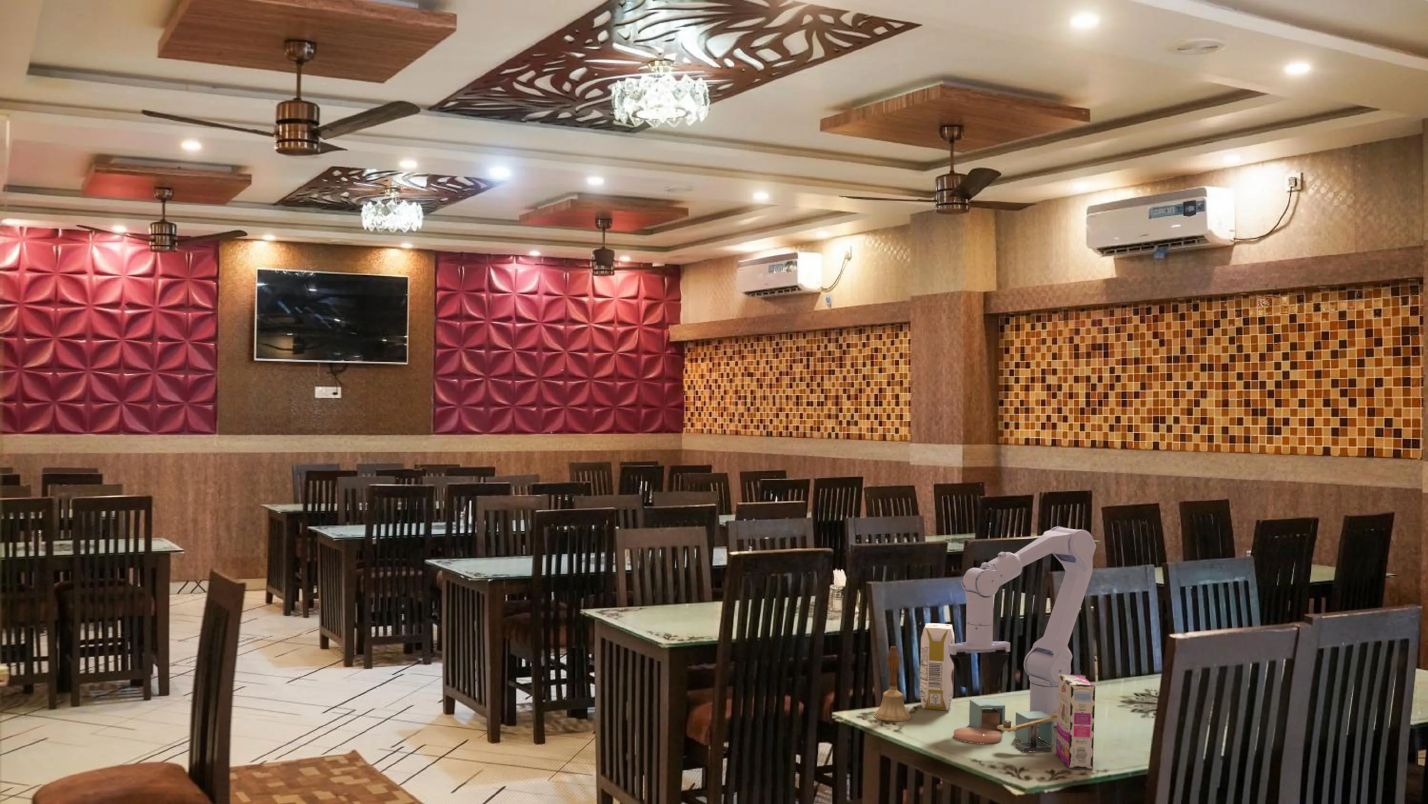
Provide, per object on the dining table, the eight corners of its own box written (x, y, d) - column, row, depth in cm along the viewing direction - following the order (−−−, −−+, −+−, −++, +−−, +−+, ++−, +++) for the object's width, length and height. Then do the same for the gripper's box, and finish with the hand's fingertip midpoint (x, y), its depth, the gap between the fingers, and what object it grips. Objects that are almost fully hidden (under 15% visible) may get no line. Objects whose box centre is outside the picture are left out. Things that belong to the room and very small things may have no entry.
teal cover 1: (994, 724, 279) (994, 699, 279) (1004, 730, 273) (1005, 705, 273) (969, 724, 278) (969, 699, 278) (979, 731, 272) (979, 705, 272)
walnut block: (993, 726, 277) (993, 708, 277) (999, 731, 273) (999, 712, 273) (975, 726, 276) (976, 708, 276) (981, 731, 272) (982, 712, 272)
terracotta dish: (990, 731, 272) (990, 726, 272) (1009, 742, 262) (1009, 738, 262) (946, 732, 270) (946, 727, 270) (964, 744, 260) (964, 739, 260)
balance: (1064, 745, 262) (1065, 710, 262) (1073, 750, 258) (1074, 715, 258) (993, 747, 258) (994, 712, 259) (1001, 752, 255) (1002, 717, 255)
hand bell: (910, 722, 279) (911, 650, 279) (872, 719, 280) (874, 648, 281) (911, 713, 287) (913, 644, 287) (875, 711, 288) (876, 642, 289)
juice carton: (918, 708, 292) (920, 627, 292) (921, 701, 300) (923, 621, 300) (951, 711, 290) (953, 629, 290) (953, 703, 298) (955, 623, 299)
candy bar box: (1094, 769, 243) (1096, 685, 244) (1069, 769, 243) (1070, 684, 244) (1080, 754, 254) (1081, 673, 255) (1055, 753, 255) (1056, 672, 255)
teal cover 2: (1040, 737, 268) (1041, 711, 268) (1053, 744, 262) (1053, 717, 262) (1015, 737, 267) (1015, 711, 267) (1027, 745, 261) (1028, 718, 261)
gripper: (998, 619, 281) (997, 679, 281) (941, 621, 276) (940, 683, 276) (1015, 624, 274) (1015, 686, 274) (957, 626, 269) (956, 690, 269)
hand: (978, 685), depth 275 cm, fingers open, 7 cm apart
